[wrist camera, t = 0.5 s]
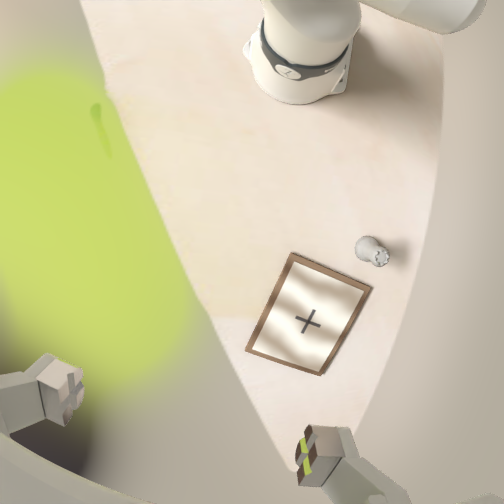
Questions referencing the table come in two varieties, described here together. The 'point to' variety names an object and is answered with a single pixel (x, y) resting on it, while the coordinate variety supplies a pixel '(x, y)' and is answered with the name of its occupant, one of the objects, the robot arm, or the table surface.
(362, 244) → the rook chess piece
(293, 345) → the brown-bordered mat
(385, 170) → the table surface
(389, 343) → the table surface
